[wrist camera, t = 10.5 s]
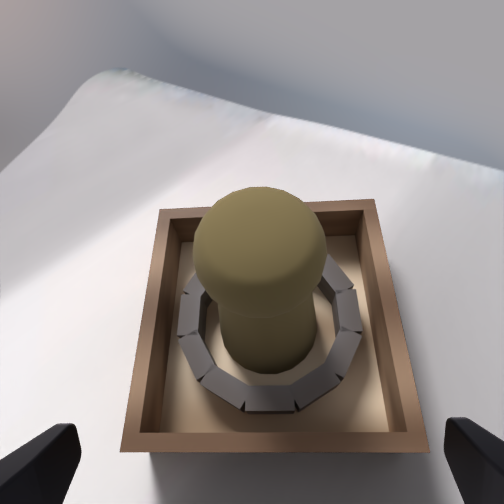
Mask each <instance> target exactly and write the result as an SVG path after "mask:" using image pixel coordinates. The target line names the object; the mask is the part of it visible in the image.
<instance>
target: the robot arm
mask: <svg viewBox="0 0 504 504" xmlns="http://www.w3.org/2000/svg"><path fill="white" fill-rule="evenodd" d="M444 453H445V457H446V459H447V462H448V464H449V467H450V469H451V472H452V474H453V477H454V479H455V481H456V484H457V486H458V489H459V491H460V494H461V496H462V499H463V501H464V504H504V441H503V440H501V439H499V438H498V437H496V436H495V435H493V434H492V433H490V432H489V431H487V430H485V429H484V428H482V427H481V426H479V425H478V424H476V423H475V422H473V421H472V420H470V419H468V418H465V417H451V418H448V419H447V421H446V427H445V438H444ZM80 459H81V446H80V441H79V437H78V433H77V429H76V426H75V425H74V424H72V423H60V424H56V425H54V426H53V427H51V428H49V429H48V430H46V431H45V432H43V433H42V434H40V435H39V436H37V437H35V438H34V439H32V440H31V441H29V442H28V443H26V444H24V445H23V446H21V447H20V448H18V449H17V450H15V451H14V452H12V453H10V454H9V455H7V456H6V457H4V458H3V459H1V460H0V504H63V501H64V499H65V496H66V494H67V491H68V489H69V486H70V484H71V481H72V479H73V477H74V474H75V472H76V469H77V467H78V464H79V462H80Z"/></svg>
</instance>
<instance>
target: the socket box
mask: <svg viewBox="0 0 504 504" xmlns="http://www.w3.org/2000/svg"><path fill="white" fill-rule="evenodd" d="M304 203H305V204H306V205H307V206H308V207H309V208H310V209H311V210H312V211H313V212H314V213H315V214H316V216H317V218H318V220H319V222H320V224H321V226H322V228H323V230H324V234H325V238H326V248H327V258H326V262H325V266H324V270H323V273H322V277H321V281H320V282H319V284H318V285H317V286H316V288H315V289H314V291H313V292H312V293H313V300H314V307H315V314H316V324H317V334H316V338H315V341H314V345H313V347H312V349H311V350H310V352H309V353H308V355H307V356H306V358H305V359H304V360H303V361H302V362H300V363H299V364H298V365H297V366H295V367H294V368H293V369H291V370H288V371H285V372H282V373H279V374H259V373H256V372H253V371H250V370H247V369H245V368H244V367H242V366H241V365H240V364H238V363H237V362H236V361H235V360H233V359H232V357H231V356H230V354H229V353H228V351H227V350H226V348H225V347H224V343H223V339H222V335H221V331H220V320H219V310H218V303H217V302H216V301H214V300H213V299H211V297H210V296H209V294H208V293H207V292H206V290H205V289H204V287H203V286H202V284H201V283H200V281H199V279H198V277H197V274H196V270H195V266H194V262H193V244H194V236H195V232H196V230H197V228H198V226H199V224H200V222H201V220H202V218H203V216H204V215H205V214H206V213H207V212H208V211H209V210H210V208H211V207H197V208H176V209H160V210H159V216H158V223H157V229H156V235H155V241H154V247H153V253H152V259H151V265H150V271H149V277H148V283H147V289H146V296H145V302H144V308H143V314H142V320H141V326H140V332H139V338H138V344H137V350H136V356H135V362H134V368H133V375H132V381H131V387H130V393H129V399H128V405H127V411H126V417H125V423H124V429H123V435H122V441H121V448H120V452H379V453H430V449H429V445H428V440H427V436H426V431H425V426H424V422H423V417H422V413H421V408H420V404H419V399H418V395H417V390H416V386H415V381H414V377H413V372H412V368H411V363H410V359H409V354H408V350H407V345H406V341H405V336H404V332H403V327H402V323H401V318H400V313H399V309H398V304H397V300H396V295H395V291H394V286H393V282H392V277H391V273H390V268H389V264H388V259H387V255H386V250H385V246H384V241H383V237H382V232H381V228H380V223H379V219H378V214H377V210H376V205H375V200H374V199H362V200H341V201H321V202H304Z"/></svg>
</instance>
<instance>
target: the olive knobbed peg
mask: <svg viewBox="0 0 504 504" xmlns="http://www.w3.org/2000/svg"><path fill="white" fill-rule="evenodd" d="M326 258H327V248H326V238H325V234H324V230H323V228H322V226H321V224H320V222H319V220H318V218H317V216H316V214H315V213H314V212H313V211H312V210H311V209H310V208H309V207H308V206H307V205H306V204H305V203H304V202H303V201H301V200H300V199H299V198H297V197H295V196H293V195H291V194H289V193H288V192H286V191H284V190H279V189H275V188H270V187H249V188H245V189H242V190H238V191H235V192H232V193H230V194H229V195H227V196H225V197H224V198H222V199H220V200H218V201H217V202H216V203H215V204H214V205H213V206H212V207H211V208H210V210H209V211H208V212H207V213H206V214H205V215H204V216H203V218H202V220H201V222H200V224H199V226H198V228H197V230H196V232H195V236H194V244H193V262H194V266H195V270H196V274H197V277H198V279H199V281H200V283H201V284H202V286H203V287H204V289H205V290H206V292H207V293H208V294H209V296H210V297H211V299H213V300H214V301H216V302H217V303H218V310H219V320H220V331H221V335H222V339H223V343H224V347H225V348H226V350H227V351H228V353H229V354H230V356H231V357H232V359H233V360H235V361H236V362H237V363H238V364H240V365H241V366H242V367H244V368H245V369H247V370H250V371H253V372H256V373H259V374H279V373H282V372H285V371H288V370H291V369H293V368H294V367H295V366H297V365H298V364H299V363H300V362H302V361H303V360H304V359H305V358H306V356H307V355H308V353H309V352H310V350H311V349H312V347H313V345H314V341H315V338H316V334H317V324H316V314H315V307H314V300H313V293H312V292H313V291H314V289H315V288H316V286H317V285H318V284H319V282H320V281H321V277H322V273H323V270H324V266H325V262H326Z"/></svg>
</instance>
